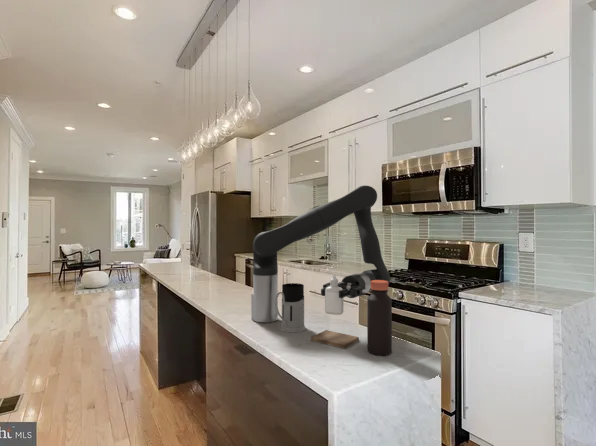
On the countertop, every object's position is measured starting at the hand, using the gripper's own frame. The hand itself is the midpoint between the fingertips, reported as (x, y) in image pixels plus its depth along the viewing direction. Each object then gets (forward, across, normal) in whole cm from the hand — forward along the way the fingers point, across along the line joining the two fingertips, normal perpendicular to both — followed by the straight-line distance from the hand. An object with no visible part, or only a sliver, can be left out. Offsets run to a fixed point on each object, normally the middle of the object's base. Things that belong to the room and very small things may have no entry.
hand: (331, 293), depth 105 cm
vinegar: (-1, +15, +15) cm, 21 cm away
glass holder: (-2, -18, +15) cm, 24 cm away
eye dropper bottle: (-2, 0, +7) cm, 7 cm away
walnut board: (-2, 0, +15) cm, 15 cm away
